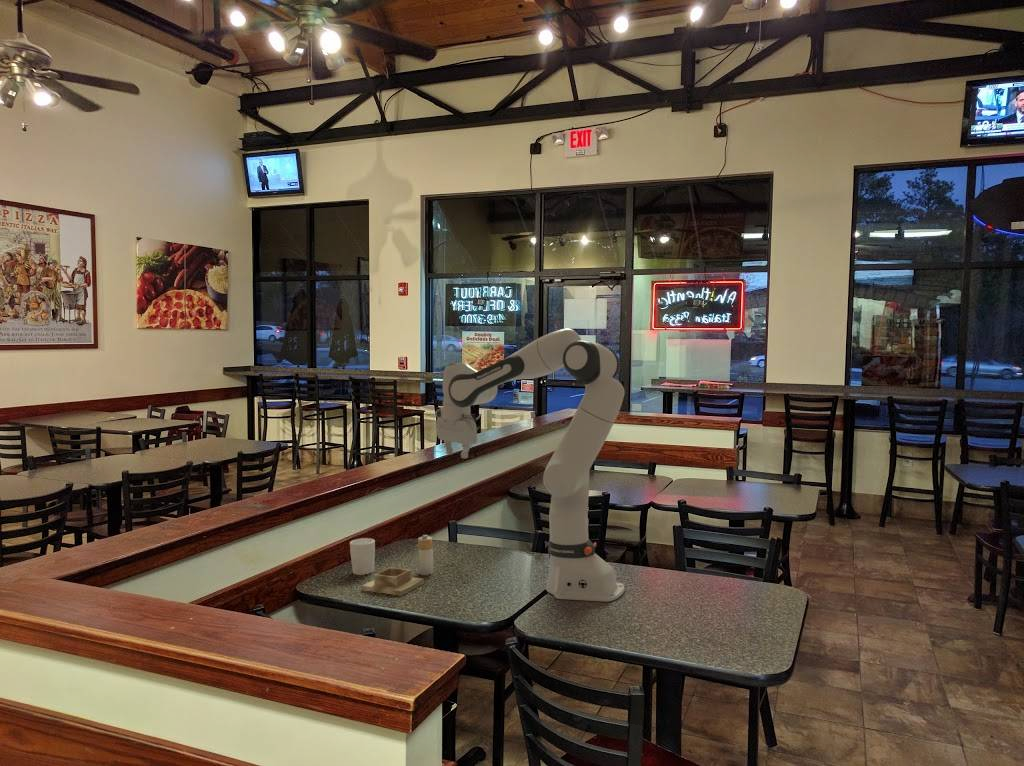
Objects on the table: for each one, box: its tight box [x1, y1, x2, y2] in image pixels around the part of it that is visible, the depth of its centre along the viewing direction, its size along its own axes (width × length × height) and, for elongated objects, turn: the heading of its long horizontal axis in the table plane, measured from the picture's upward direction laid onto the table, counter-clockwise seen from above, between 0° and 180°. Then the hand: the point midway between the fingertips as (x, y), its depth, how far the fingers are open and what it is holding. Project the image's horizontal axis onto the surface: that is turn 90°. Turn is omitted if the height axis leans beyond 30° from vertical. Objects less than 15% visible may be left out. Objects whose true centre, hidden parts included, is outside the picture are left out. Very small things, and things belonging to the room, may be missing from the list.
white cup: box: [349, 537, 376, 576], centre depth 228 cm, size 8×8×10 cm
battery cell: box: [417, 534, 434, 576], centre depth 225 cm, size 4×4×12 cm
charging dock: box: [361, 567, 425, 597], centre depth 212 cm, size 14×12×4 cm
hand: (456, 456), depth 229 cm, fingers open, 8 cm apart
